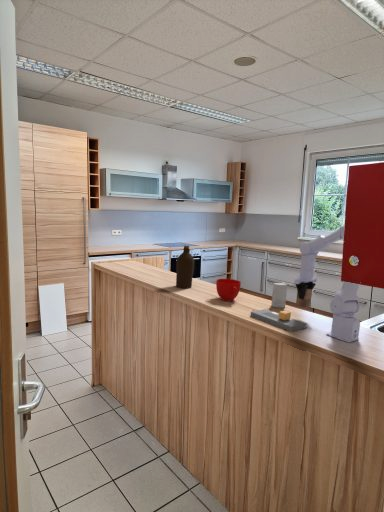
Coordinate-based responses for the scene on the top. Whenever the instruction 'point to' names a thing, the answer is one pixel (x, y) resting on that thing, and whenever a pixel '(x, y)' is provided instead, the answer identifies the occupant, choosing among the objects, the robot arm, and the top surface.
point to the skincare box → (279, 295)
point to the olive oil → (184, 269)
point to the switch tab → (284, 315)
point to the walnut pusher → (306, 300)
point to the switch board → (278, 320)
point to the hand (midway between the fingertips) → (303, 298)
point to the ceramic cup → (227, 288)
